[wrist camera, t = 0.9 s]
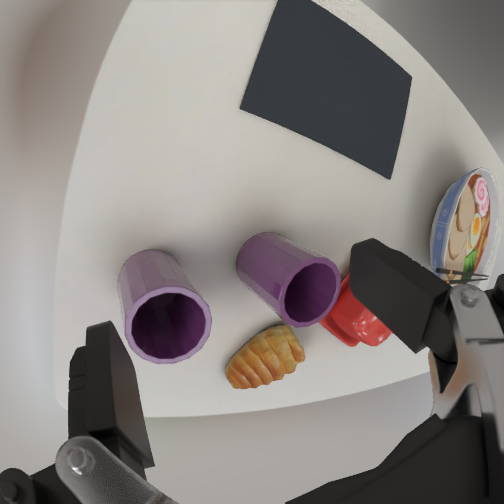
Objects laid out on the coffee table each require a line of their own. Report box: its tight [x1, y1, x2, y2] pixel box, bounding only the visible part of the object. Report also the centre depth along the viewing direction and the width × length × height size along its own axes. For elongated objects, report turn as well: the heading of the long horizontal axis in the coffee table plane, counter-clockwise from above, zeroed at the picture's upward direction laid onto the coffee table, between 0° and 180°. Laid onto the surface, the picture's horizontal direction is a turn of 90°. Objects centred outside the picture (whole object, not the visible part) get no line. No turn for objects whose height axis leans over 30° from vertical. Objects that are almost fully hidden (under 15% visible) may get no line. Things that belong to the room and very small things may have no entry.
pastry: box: [225, 325, 305, 389], centre depth 34 cm, size 9×7×4 cm
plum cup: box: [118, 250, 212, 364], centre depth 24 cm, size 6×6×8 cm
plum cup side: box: [236, 232, 341, 327], centre depth 29 cm, size 6×6×8 cm
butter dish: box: [319, 272, 394, 347], centre depth 37 cm, size 12×12×8 cm
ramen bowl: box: [430, 167, 499, 287], centre depth 43 cm, size 25×23×8 cm
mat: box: [240, 0, 412, 179], centre depth 30 cm, size 22×16×1 cm
